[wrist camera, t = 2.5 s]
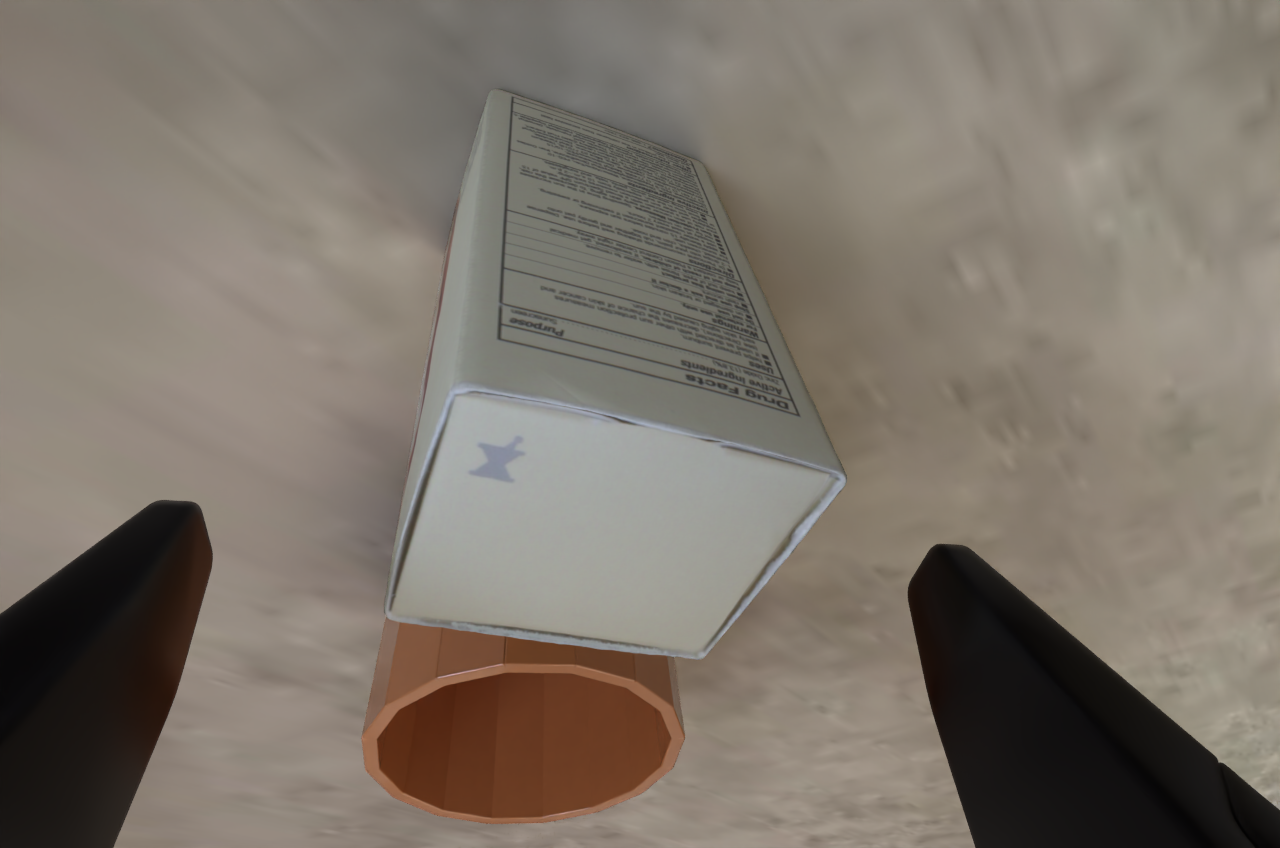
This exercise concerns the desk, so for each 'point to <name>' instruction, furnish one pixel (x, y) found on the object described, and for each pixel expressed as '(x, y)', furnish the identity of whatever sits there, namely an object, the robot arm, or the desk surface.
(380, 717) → the copper cup
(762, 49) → the desk surface
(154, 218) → the desk surface
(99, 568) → the robot arm
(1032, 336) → the desk surface
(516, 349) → the medicine box
